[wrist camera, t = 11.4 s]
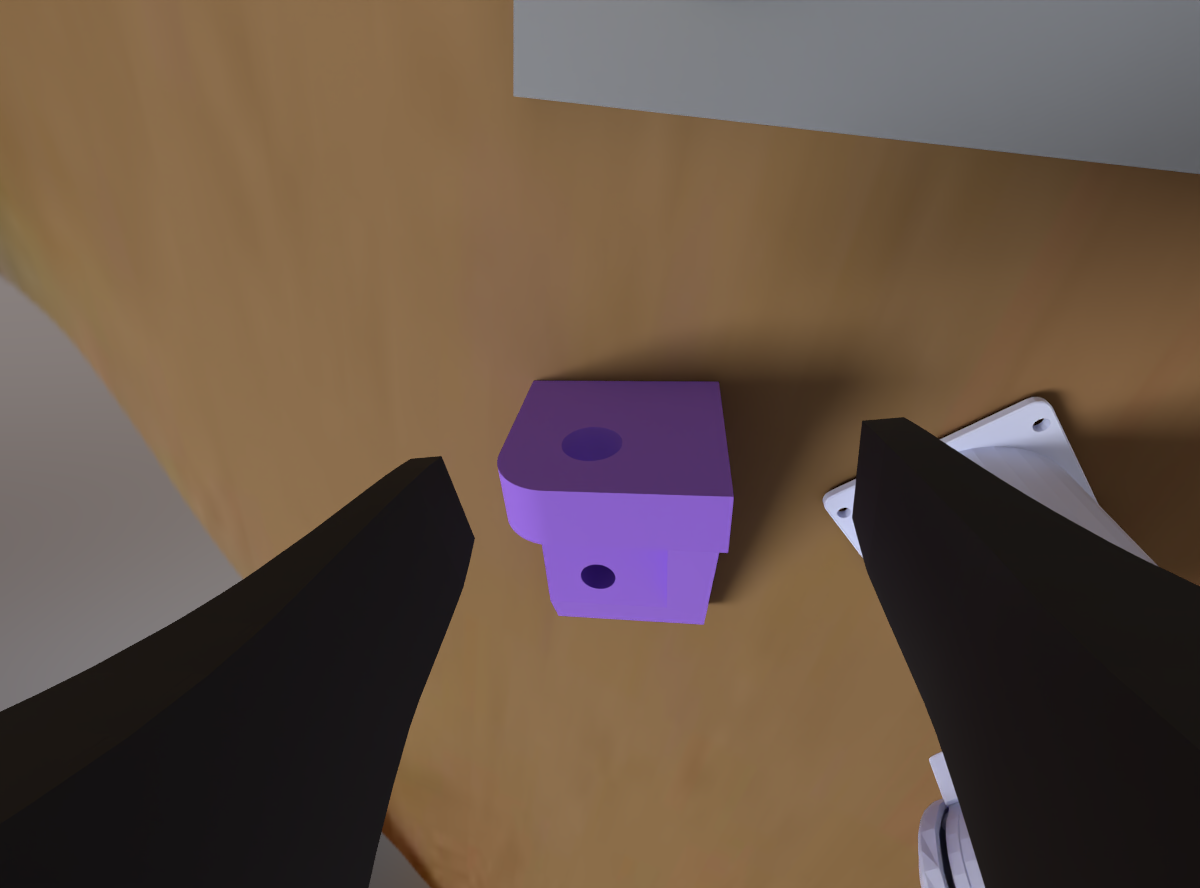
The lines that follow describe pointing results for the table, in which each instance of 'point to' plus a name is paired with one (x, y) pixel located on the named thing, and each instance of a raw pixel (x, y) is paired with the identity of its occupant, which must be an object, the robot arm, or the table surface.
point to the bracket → (622, 494)
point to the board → (889, 69)
